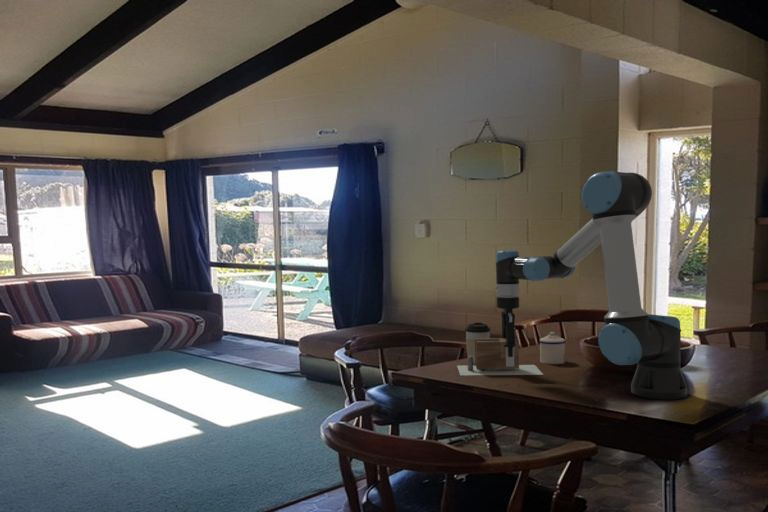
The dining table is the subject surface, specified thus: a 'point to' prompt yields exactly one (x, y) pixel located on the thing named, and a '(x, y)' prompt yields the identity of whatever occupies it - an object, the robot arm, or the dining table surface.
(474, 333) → the coffee cup
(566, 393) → the dining table surface
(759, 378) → the dining table surface
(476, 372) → the board
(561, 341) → the teacup with lid
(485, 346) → the slotted block
